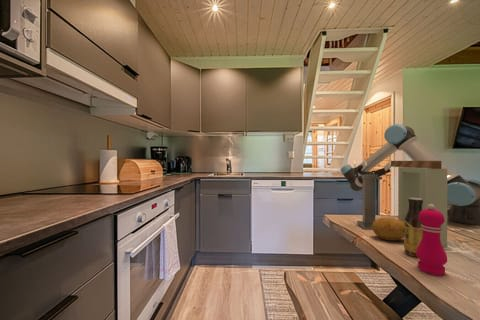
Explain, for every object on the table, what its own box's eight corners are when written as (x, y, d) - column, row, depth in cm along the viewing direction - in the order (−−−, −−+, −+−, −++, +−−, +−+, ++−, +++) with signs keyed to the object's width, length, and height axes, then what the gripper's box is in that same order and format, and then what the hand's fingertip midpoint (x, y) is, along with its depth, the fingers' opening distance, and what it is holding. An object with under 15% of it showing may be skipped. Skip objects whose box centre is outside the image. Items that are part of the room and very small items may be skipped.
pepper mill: (453, 277, 64) (453, 206, 64) (424, 275, 66) (424, 205, 66) (437, 266, 71) (437, 202, 71) (411, 264, 73) (411, 201, 73)
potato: (410, 247, 87) (410, 222, 87) (370, 240, 95) (370, 217, 95) (409, 240, 95) (410, 217, 95) (372, 234, 103) (373, 213, 103)
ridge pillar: (357, 224, 117) (357, 174, 117) (373, 225, 116) (373, 174, 116) (364, 229, 109) (364, 175, 109) (381, 229, 108) (381, 175, 108)
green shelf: (398, 231, 105) (398, 167, 105) (416, 232, 105) (416, 167, 105) (425, 245, 88) (425, 168, 89) (447, 246, 88) (447, 168, 88)
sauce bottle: (404, 249, 84) (405, 196, 85) (426, 254, 81) (426, 197, 81) (403, 255, 79) (403, 198, 79) (426, 260, 75) (426, 200, 76)
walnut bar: (390, 166, 116) (390, 160, 116) (397, 166, 116) (397, 160, 116) (433, 168, 88) (433, 160, 88) (441, 168, 88) (441, 160, 88)
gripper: (384, 184, 146) (403, 169, 128) (344, 184, 148) (357, 169, 130) (381, 174, 150) (399, 157, 131) (342, 173, 152) (354, 157, 133)
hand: (378, 163), depth 130 cm, fingers open, 13 cm apart
